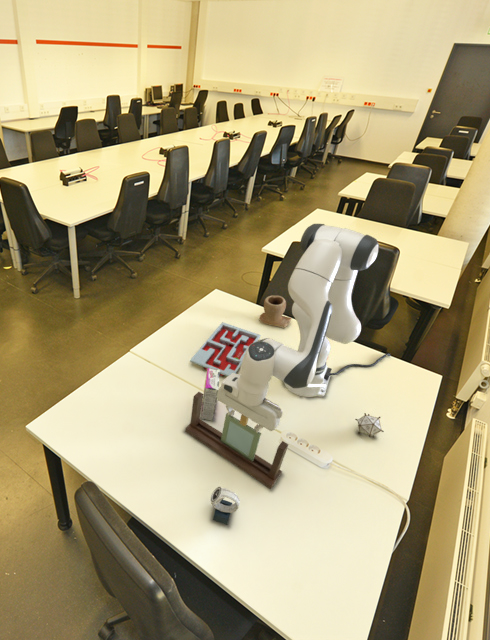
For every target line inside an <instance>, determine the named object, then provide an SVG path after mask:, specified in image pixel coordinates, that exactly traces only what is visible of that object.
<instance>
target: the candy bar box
mask: <svg viewBox="0 0 490 640" xmlns="http://www.w3.org/2000/svg"><path fill="white" fill-rule="evenodd" d="M220 377H221V375H220V370H218V369H211V368H207V370H206V374H205V381H204V389H203V401H202V408H201V415H200V419H201V420H204V421H205V420H206V421H212V422H213V421H214V419H215V413H216V412H215V411H216V406H217V401H218V399H217V392H218V389H219V388H220Z"/></svg>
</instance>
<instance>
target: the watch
mask: <svg viewBox="0 0 490 640" xmlns="http://www.w3.org/2000/svg"><path fill="white" fill-rule="evenodd" d="M225 498H226V499H230V500H231V501H233V502H234V503H233V502H231V501H228V500H226V499H225ZM210 504H211V505H212V507H213V508H214V513H213V517H212V521H215V522H217V523H220V524H222V525H225V526H228V525H229V520H230V517H231V514H232V513H235V512H237V511H238V509H239V508H240V498H239V496H238V495H237V494H236V493H235V492H234V491H232V490H230V489H227V488H226V487H221V486H218V487H216V488H215V489H214V490H213V492H212V493H211V496H210Z"/></svg>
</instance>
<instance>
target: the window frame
mask: <svg viewBox="0 0 490 640" xmlns="http://www.w3.org/2000/svg"><path fill="white" fill-rule="evenodd" d="M203 395H204V393H203V392H200V391H198V392H196V393H195V394H194V395H193V399H192V407H191V415H190V423H189V424H188V425H187V426H186V427H185V430H184V432H185V433H186V434H188V435H189V436H191V437H193V438H194V439H195V440H196V441H199V442H200V443H201V444H203V445H204V446H205V447H207V448H208V449H210V450H212V451H214V452H215V453H216V454H218V455H219V456H221V457H222V458H224V459H225V460H227V461H228V462H229V463H231V464H233V465H234V466H236V467H237V468H239V470H241V471H243V472H245V473H246V474H247V475H248V476H251V477H252V478H254V480H257V481H258V482H260V483H261V484H263V486H265V487H266V488H268V489H270V490H271V489H272V488H273V487H274V485H275V484H276V483H277V481H278V479H279V478H280V477H281V475H282V472H283V470H281V467H282V464H283V462H284V459H285V455H286V453H287V451H288V448H289V443H287V442H286V441H283V440H282V441H281V442H280V443H279V444H278V445H277V448H276V451H275V455H274V458H273V461H272V464H271V463H270V462H268V461H267V460H265V459H264V458H263V457H260V456H259V455H257V454H256V453H255V457H254V460H253V462H252V461H250V460H249V459H247V458H246V457H244V456H243V455H241V454H240V453H238V452H236V451H235V450H233V449H232V448H230V447H229V446H227V445H226V444H224V443H223V442H221V437H222V432H221V431H220V430H218V429H217V428H215V427H213V426H212V425H210V424H208V423H207V422H206V421H205V420H203V419H201V413H202V403H203Z"/></svg>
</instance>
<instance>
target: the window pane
mask: <svg viewBox="0 0 490 640" xmlns="http://www.w3.org/2000/svg"><path fill="white" fill-rule="evenodd" d="M248 422H249V418H247V417H246V416H244V415H242V414H240V419H238V418H237V417H235V416H234V415H233V416H232V417H230V416H229V415H228V412H226V414H225V417H224V422H223V423H224V424H223V427H222V432H221V433H222V437H221V442H223V443H224V444H226V445H227V446H229V447H230V448H232V449H233V450H235V451H236V452H238V453H240V454H241V455H243V456H244V457H246V458H247V459H249V460H250V461H252V462H253V460H254V457H255V454H256V453H257V450H258V446H259V443H260V439H261V437H262V432H260V431H259V432H258V433H257V432H255V431H254V427H251V426H250V425H248Z"/></svg>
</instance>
